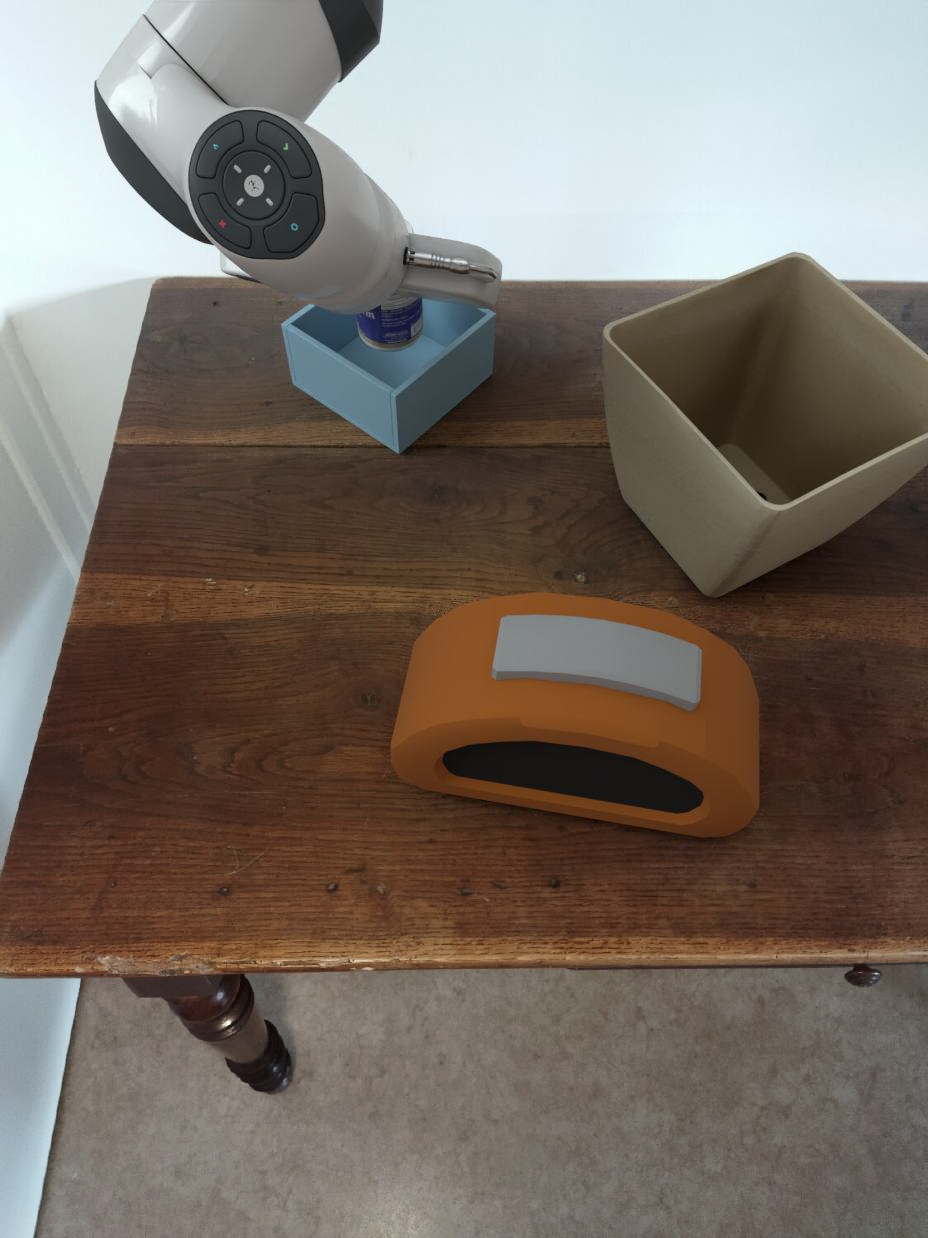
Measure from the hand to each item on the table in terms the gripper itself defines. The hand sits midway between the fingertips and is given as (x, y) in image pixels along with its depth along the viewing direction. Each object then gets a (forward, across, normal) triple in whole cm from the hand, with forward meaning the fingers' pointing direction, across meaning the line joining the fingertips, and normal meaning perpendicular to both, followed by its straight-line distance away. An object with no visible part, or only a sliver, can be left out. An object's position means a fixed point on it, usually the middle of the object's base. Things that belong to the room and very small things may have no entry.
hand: (389, 275), depth 73 cm
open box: (+7, 0, +8) cm, 11 cm away
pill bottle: (+4, 0, +4) cm, 6 cm away
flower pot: (+1, -31, +14) cm, 35 cm away
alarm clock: (-16, -22, +32) cm, 42 cm away
